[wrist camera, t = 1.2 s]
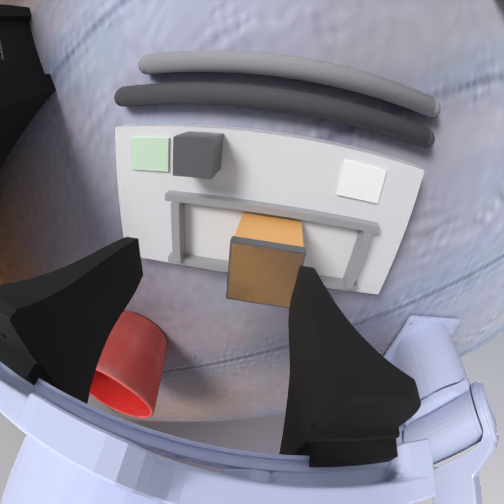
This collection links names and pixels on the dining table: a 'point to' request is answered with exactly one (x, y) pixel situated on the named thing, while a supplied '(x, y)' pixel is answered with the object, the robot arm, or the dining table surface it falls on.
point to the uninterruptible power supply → (19, 77)
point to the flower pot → (131, 366)
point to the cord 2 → (277, 105)
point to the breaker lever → (265, 260)
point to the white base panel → (263, 196)
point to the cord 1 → (291, 74)
